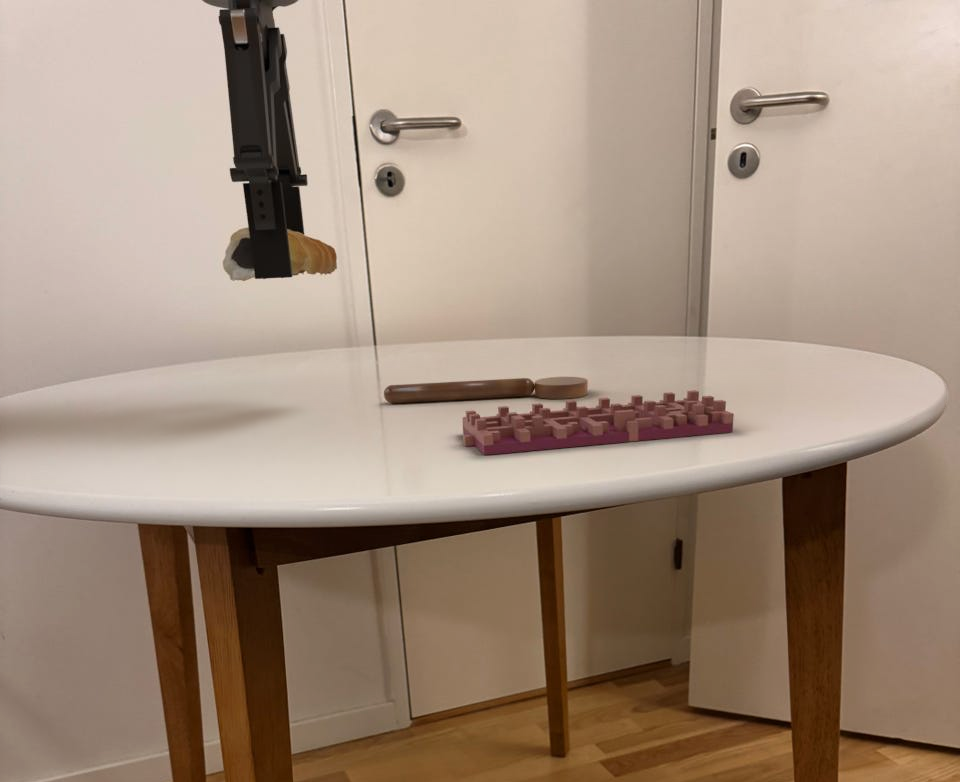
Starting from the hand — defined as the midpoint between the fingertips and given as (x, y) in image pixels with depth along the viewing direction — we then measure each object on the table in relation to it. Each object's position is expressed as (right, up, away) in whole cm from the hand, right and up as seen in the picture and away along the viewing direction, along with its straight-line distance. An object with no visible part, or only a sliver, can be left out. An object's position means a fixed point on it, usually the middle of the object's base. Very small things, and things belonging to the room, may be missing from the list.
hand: (283, 274), depth 75 cm
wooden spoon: (+16, -8, +9) cm, 20 cm away
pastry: (0, 0, 0) cm, 0 cm away
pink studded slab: (+24, -15, -7) cm, 29 cm away
